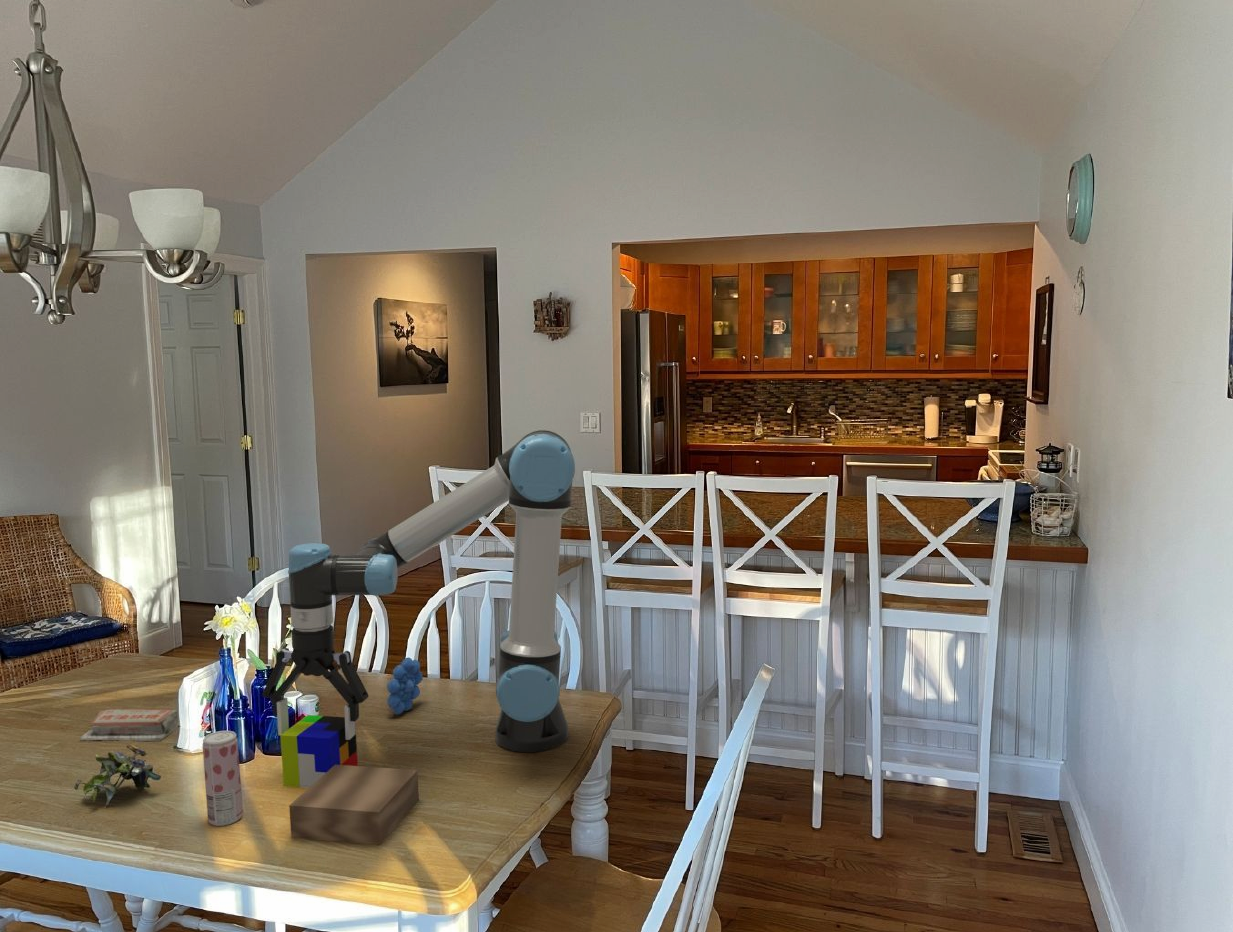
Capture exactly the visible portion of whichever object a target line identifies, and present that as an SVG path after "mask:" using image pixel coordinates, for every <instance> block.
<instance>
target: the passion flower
mask: <svg viewBox="0 0 1233 932" xmlns="http://www.w3.org/2000/svg"><path fill="white" fill-rule="evenodd" d="M126 748H127V749H129V750H131V751H132V752H133V753H134V754H133V756H130V755H129V756H127V755H126V754H124V753H123V752H120V751H116V750H109V751H108V752H107V754H106V756H107V757H103V756H99V755H98V754H95V755H94V757H95V760H96V761H97V762H99V763H101V766H100V771H99V774H95V775H93V776H92V777H91V779H90V780H88V781H87V782H82V779H77V780H76V782H75V785H74V786H73V787H74V790H76V791H77V790H79V785H80V784H81V785H84V786H83V793H84V795H87V794H88V793H89V792H91V791H93V792H94V794H93V795H92V801H93V803H96V799H97V797H98V794H99V793H100V792H101V791H102V790H105V796H106V804H105V806H104V807H106V808H107V807H108V805H109V804H110V801H111V799H113V797H115V794H117V793H118V792H119V791H118V789H119V787H120V786H122V784H123V783H124V781H125V780H127V781H129V780H132V781H133V783H134V785H135V788H137V789H138V790H143V789H145V788H148V789H150V788H151V785H150V784H149V782H148V780H149V779H152V780H154V781H160V780H161V778H162V775H160V774H157V773H155V770H154V767H153V766H152V764H146V763H145V762H147V759H140V758H138V759H136V758H137V756H138V755H140V756H141V757H145V756H147V755H149V753H148V752H147V753H146V751H145V750H143V749H141V747H138V746H135V745H133V744H130V745H129V744H127V745H126ZM105 772H106V773H105ZM102 773H105V775H103V774H102ZM117 774H119V777H118V779H117V781H116V782H115V783H112V782H111V777H113V776H114V775H117ZM120 778H122V779H121V781H120V782H119V780H120ZM106 785H107V786H110V787H107V786H106Z"/></svg>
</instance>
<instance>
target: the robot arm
mask: <svg viewBox="0 0 1233 932" xmlns="http://www.w3.org/2000/svg"><path fill="white" fill-rule="evenodd" d="M575 463H576V462H575V458H574V455H573V453H572V450H571V447H570V446H569V443H567V440H565V439H564V438H563V437H562V436H561V435H559V434H558V433H556V432H554V431H551V430H546V429H545V430H543V429H542V430H541V429H540V430H534V431H532V432H530V433H528V434H526V435H524V436H523V437H522V438H520V440H519V441H518V442H517V443H516V444H515V445H513V446H512V447H510V448H509V449H508V450H506V451H504V452H503V453H502V454H500V455H498V456H497V457H496V458H495V461H494V465H492V466H491V467H489V468H487V469H486V470H484V471H482V472H480V474H478V475H476V476H475V477H473V478H471V479H469V480H468V481H467V482H464V483H463V484H462V485H460V486H458V487H457V488H455V489H454V490H452V491H450V492H449V493H447V494H445V495H444V496H442V497H441V498H439V499H438V500H436V501H435V502H432V503H431V504H430V505H428V506H426V507H425V508H423V509H421V510H420V511H418V512H416V513H415V514H413V515H412V516H410V517H408V518H406V519H405V520H403V521H402V522H400V523H398V524H397V525H396V526H394V527H392V528H391V529H389V530H388V531H386V532H385V533H383V534H381V535H380V536H378V537H375V538H373V539H370V540H369V541H367V542H366V543H365V544H363V546H362V547H361V548H360V550H359V551H358V552H357V553H356V554H349V555H347V554H344V555H342V554H341V555H340V554H338V555H337V554H332V552H331V547H330V546H329V545H328V544H326V543H318V542H314V543H302V544H297V545H295V546H294V547H291V549H290V550H289V552H288V570H287V574H288V585H289V599H290V601H289V603H290V606H289V607H290V625H291V627H292V630H291V631H290V632H291V633H290V634H291V647H292V650H289V649H288V648H287V647H284V648H282V649H281V650H279V651H278V652H276V658H275V664H274V666H273V668H272V671H271V672H270V676H269V677H268V680H267V682H266V684H265V686H264V689H263V691H262V695H261V696H262V697H263V698H264V699H266V698H268V699H270V700H271V701H272V713H273V717H275V718H277V735H278V736H280V735H281V734H283V733H284V732H285V731H287V730H288V729H290V725H289V705H288V703H289V700H288V697H285V694H286V693H287V692H288V690H289V689H290V688H291V687H292V686H293V684H294V683H295V682H296V681H297V679H298V678H299V677H300V676H301V674H302V675H304V676H309V677H310V676H315V677H321V676H322V677H323V678H324V679H326V680H328V682H329V683H330V684H331V686H333V688H335V690H336V691H337V692H338V693H339V695H340V696H341V697H342V698H343V699H344V701H345V702H346V704H345V705H344V717H345V735H346V740H350V739H351V738H352V737H353V736H354V735H355V734H356V735H357V732H356V733H355V726H356V721H357V720H359V718H360V706H359V705H360V704H362V703H364V702H365V701H366V700H367V699H368V698H369V694H368V690H366V688H365V685H364V683H363V681H362V680H361V678H360V676H359V674H358V672H357V670H356V668H355V666H354V663H353V661H352V656H351V652H350V651H349V650H346V651H344V652H337V653H336V652H335V649H334V646H335V635H334V626H333V625H332V624H333V623H334V613H333V612H334V611H333V596H374V597H376V596H381V595H390V594H393V593H394V592H395V591H396V588H397V584H398V570H399V569H401V568H402V567H405V565H407V564H408V563H410V562H412V561H413V560H415V559H416V558H418V557H419V556H421V555H423V554H424V553H426V552H427V551H430V550H431V549H433V547H435V546H437V545H439V544H441V543H442V542H444V541H445V540H447V539H449V538H450V537H452V536H454V535H455V534H457V533H458V532H460V531H462V530H463V529H465V528H466V527H468V526H469V525H471V524H474V523H475V522H476V521H478V520H479V519H481V518H483V517H484V516H486V515H487V514H489V513H491V512H492V511H494V510H496V509H497V508H499V507H501V506H502V505H504V504H506V503H507V502H508V505H509V506H510V508H511V509H512V510H513V511H514V512H515V528H514V544H513V545H514V546H513V549H514V550H513V563H512V564H513V565H512V579H511V595H510V609H509V610H510V611H509V612H510V614H509V627H508V630H507V631H504V632H503V633H502V634H501V635H500V643H499V658H498V659H499V660H498V676H497V684H496V687H495V696H496V698H497V703H498V705H499V706H500V708H501V709H500V713H499V716H498V719H497V723H496V727H495V733H494V734H495V742H496V744H497V745H498V746H500V747H501V748H503V749H505V750H508V751H511V752H512V751H513V752H518V753H519V752H521V753H533V752H534V753H536V752H543V751H548V750H551V749H555V748H557V747H559V746H561V745H563V744H564V743H566V741H567V740H568V739H569V723H568V722H567V719H566V716H565V713H564V710H563V707H562V705H561V702H560V695H561V687H560V671H561V670H560V669H561V656H562V655H561V653H562V652H561V651H562V646H561V644H560V643H559V640H558V635H557V632H556V631H555V629H556V628H555V627H556V626H555V625H556V624H555V623H556V613H557V596H558V594H557V593H558V579H559V577H558V576H559V565H560V564H559V562H560V549H561V548H560V547H561V535H562V518H563V515H564V514H565V513H566V512H568V511H569V510H570V509H571V504H572V503H571V502H572V491H573V479H574V478H575V473H576V471H575V470H576V464H575ZM290 660H292V662H293V663H294V665H295V667H294V668H293V669H292V670H291V671H290V673H289V675H288V676H287V677H286V678H285V680H283V682H282V683H281V685H279V687H278V684H279V683H280V680H281V678H282V675H283V674H284V671H285V669H286V667H287V664H288V662H289V661H290ZM335 661H336V662H337V663H336V664H337V665H339V667H340V670H341V671H342V674H343V676H344V677H343V676H342V674H341V673H340V672H339V669H338V667H337V666H336V665H335V663H334V662H335ZM277 687H278V688H277Z"/></svg>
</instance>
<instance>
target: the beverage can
mask: <svg viewBox="0 0 1233 932" xmlns="http://www.w3.org/2000/svg"><path fill="white" fill-rule="evenodd" d="M202 756H203V768H204V771H203V772H204V781H205V784H204V786H205V796H206V797H205V798H206V811H207V822H208V823H209V824H210V825H213V826H215V827H222V826H223V827H224V826H228V825H232V824H234V823H237V822H238V821H239V820H241V818H242V817H243V815H244V807H243V794H242V793H243V792H242V781H241V767H240V754H239V742H238V737H237V734H236V732H235V731H231V730H219V731H215V732H210V733H208V734H207V735H205V736H204V737H203V739H202Z"/></svg>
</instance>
